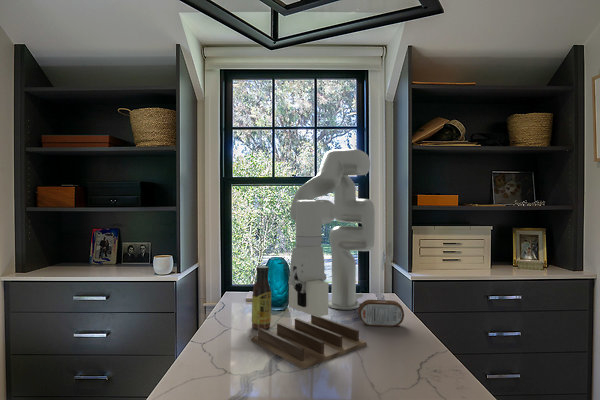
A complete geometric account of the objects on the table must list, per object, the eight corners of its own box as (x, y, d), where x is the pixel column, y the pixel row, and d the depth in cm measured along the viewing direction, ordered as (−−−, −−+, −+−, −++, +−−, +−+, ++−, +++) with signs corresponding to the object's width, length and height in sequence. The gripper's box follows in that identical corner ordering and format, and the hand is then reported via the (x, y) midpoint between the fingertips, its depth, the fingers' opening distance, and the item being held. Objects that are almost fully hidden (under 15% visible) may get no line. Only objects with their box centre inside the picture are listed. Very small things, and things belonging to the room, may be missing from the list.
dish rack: (311, 323, 127) (311, 311, 127) (366, 345, 108) (366, 331, 108) (251, 340, 111) (251, 327, 111) (303, 369, 93) (303, 353, 93)
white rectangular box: (298, 304, 116) (299, 275, 116) (328, 314, 106) (328, 282, 106) (288, 306, 113) (289, 277, 113) (317, 317, 103) (318, 284, 103)
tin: (403, 325, 126) (403, 300, 126) (404, 328, 123) (405, 302, 123) (358, 323, 128) (358, 298, 127) (358, 326, 124) (358, 301, 124)
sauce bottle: (261, 331, 119) (261, 269, 119) (247, 327, 122) (247, 267, 122) (275, 326, 124) (275, 266, 124) (261, 322, 128) (261, 264, 128)
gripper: (320, 239, 118) (320, 297, 118) (277, 242, 107) (277, 306, 107) (337, 241, 112) (337, 302, 112) (294, 245, 101) (293, 312, 101)
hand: (307, 304), depth 109 cm, fingers closed on white rectangular box, 4 cm apart
